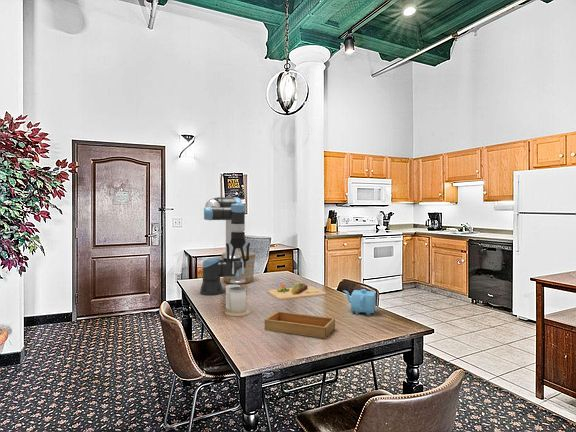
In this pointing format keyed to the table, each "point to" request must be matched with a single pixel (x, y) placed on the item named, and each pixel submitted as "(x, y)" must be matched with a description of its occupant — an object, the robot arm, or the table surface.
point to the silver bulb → (237, 273)
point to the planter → (247, 270)
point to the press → (236, 302)
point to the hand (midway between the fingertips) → (237, 273)
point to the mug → (230, 287)
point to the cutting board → (296, 292)
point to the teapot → (362, 301)
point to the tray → (300, 324)
